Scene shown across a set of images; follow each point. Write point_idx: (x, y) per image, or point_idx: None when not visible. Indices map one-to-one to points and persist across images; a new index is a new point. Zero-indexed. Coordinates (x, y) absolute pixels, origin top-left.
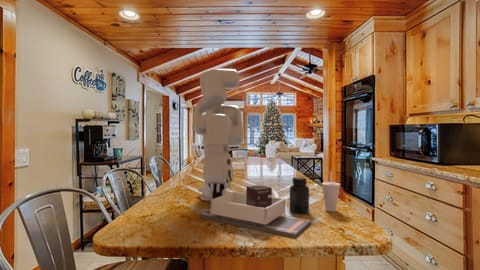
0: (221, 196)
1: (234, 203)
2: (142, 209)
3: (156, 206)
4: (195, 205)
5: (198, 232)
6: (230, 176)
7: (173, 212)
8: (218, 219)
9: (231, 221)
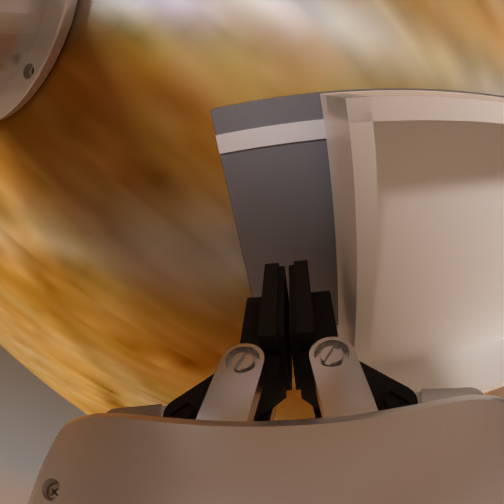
0: (366, 355)
1: (500, 385)
2: (40, 364)
3: (18, 324)
4: (52, 215)
5: None
6: (497, 468)
7: (115, 348)
8: None
9: None
